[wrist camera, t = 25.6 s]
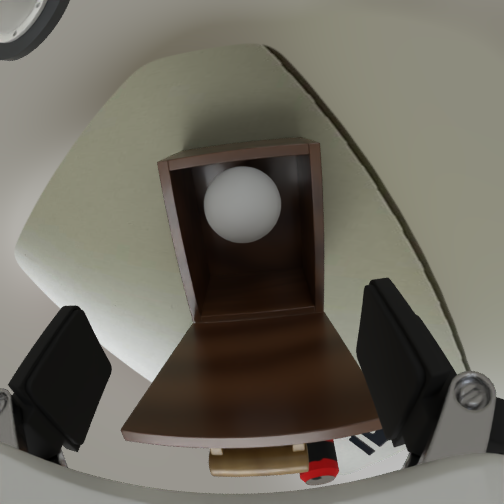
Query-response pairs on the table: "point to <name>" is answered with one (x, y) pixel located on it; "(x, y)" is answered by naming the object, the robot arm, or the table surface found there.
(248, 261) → the chest
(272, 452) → the lid
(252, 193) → the lightbulb
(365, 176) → the table surface
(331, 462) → the soda can
